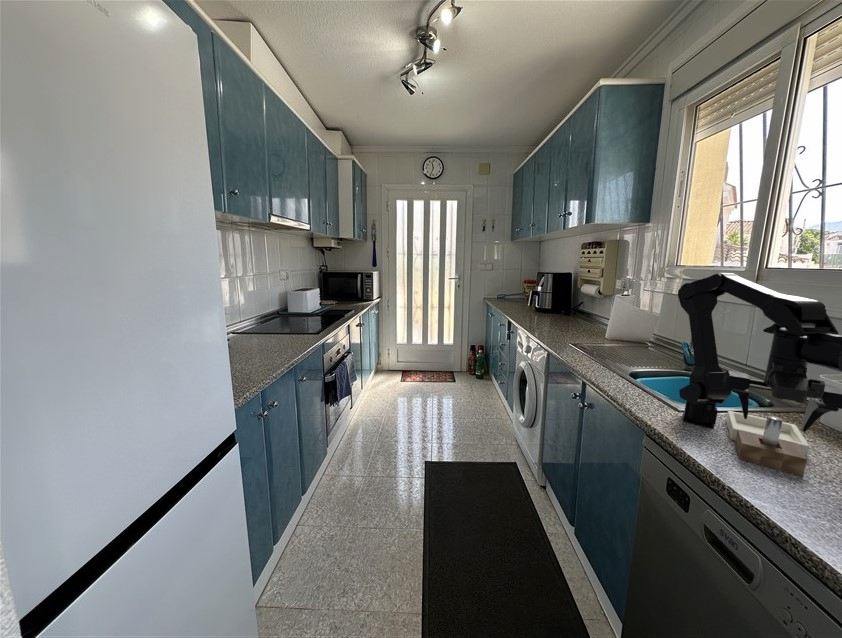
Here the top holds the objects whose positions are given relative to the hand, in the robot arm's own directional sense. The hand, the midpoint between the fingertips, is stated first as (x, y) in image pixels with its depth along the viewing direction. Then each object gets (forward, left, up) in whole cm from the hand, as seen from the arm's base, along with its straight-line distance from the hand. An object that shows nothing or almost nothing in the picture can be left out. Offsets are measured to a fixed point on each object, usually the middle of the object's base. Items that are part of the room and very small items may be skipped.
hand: (773, 424), depth 76 cm
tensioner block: (0, 0, -9) cm, 8 cm away
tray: (+1, +13, -8) cm, 15 cm away
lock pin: (0, 0, -9) cm, 9 cm away
